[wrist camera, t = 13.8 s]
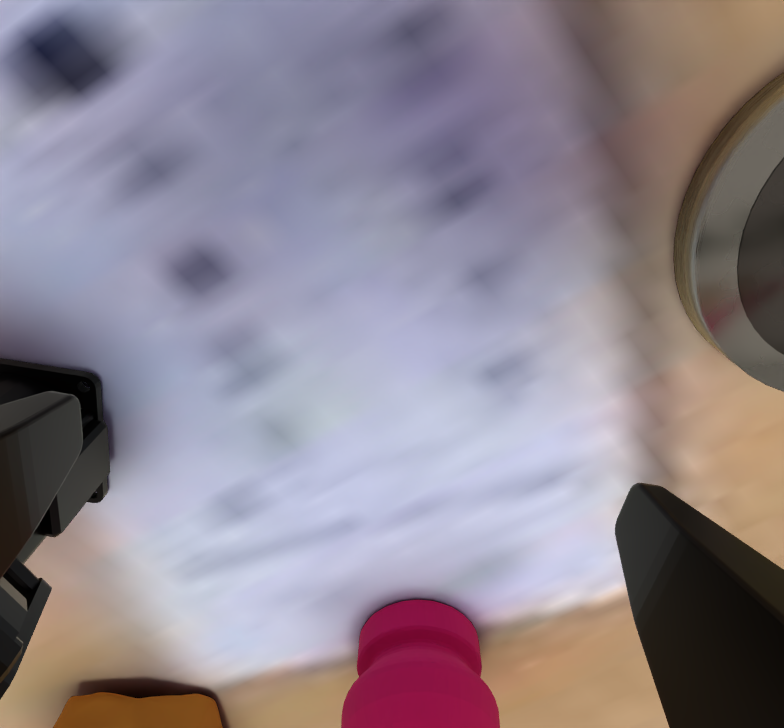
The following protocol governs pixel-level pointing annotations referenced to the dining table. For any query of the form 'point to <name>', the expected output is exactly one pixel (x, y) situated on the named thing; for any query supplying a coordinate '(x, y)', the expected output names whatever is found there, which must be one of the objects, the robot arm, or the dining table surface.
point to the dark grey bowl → (739, 240)
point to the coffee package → (139, 712)
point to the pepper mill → (419, 671)
